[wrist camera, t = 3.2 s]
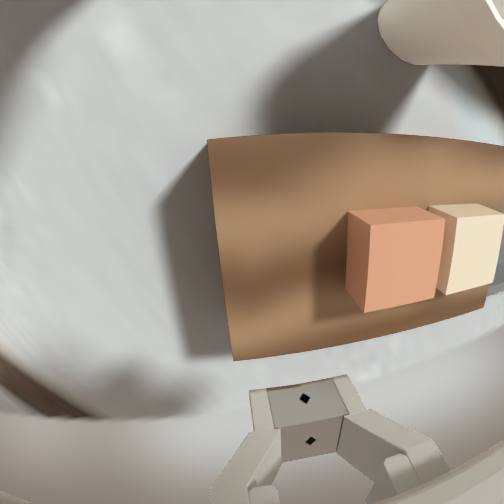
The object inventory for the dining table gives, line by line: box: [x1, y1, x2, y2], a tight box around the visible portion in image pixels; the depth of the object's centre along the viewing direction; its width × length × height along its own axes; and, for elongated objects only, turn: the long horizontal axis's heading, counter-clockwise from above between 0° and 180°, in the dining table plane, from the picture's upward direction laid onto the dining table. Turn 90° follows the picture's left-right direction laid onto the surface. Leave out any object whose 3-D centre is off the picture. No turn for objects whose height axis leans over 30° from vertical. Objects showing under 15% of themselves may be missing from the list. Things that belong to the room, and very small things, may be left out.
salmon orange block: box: [345, 206, 445, 313], centre depth 17 cm, size 5×5×3 cm
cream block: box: [428, 204, 504, 295], centre depth 17 cm, size 5×5×3 cm
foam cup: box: [377, 0, 504, 67], centre depth 13 cm, size 10×9×13 cm
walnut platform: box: [207, 132, 504, 361], centre depth 21 cm, size 14×22×6 cm, turn 94°
